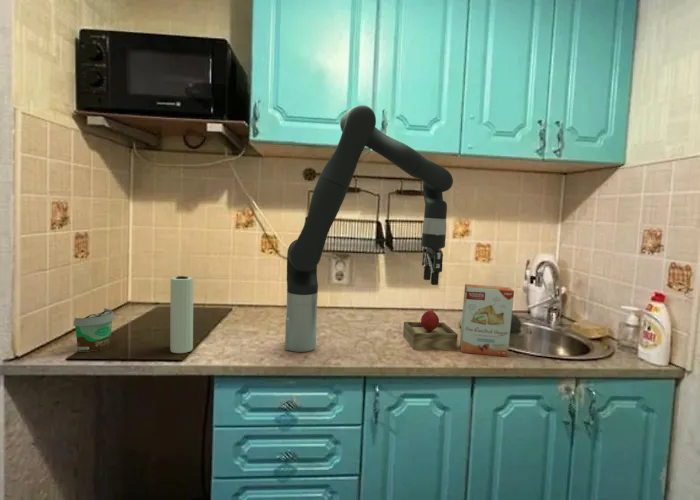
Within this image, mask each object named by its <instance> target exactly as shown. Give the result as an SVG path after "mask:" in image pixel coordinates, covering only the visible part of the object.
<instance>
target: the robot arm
mask: <svg viewBox="0 0 700 500" xmlns="http://www.w3.org/2000/svg"><path fill="white" fill-rule="evenodd" d="M339 122H340V130H341V132H342V133H341V135H340V138H339V141H338V143H337V145H336V148H335V149H334V152H333V153H332V155H331V156H330V158H329V159H328V161H327V162H326V164H325V166H324V167H323V169H322V170H321V172H320V174H319V177H318V179H317V181H316V184H315V186H314V189H313V191H312V195H311V199H310V202H309V208H308V211H307V212H308V213H307V217H306V220H305V223H304V226H303V227H302V229H301V231H300V233H299V236H298V237H297V238H296V239H295V240H294V241H292V242H291V243H290V245H289V246H288V248H287V253H286V254H287V255H286V293H287V294H286V311H285V312H286V313H285V314H286V315H285V332H284V335H285V336H284V337H285V338H284V350H285V351H291V352H298V353H306V352H311V351H314V350H315V349H316V346H317V344H316V343H317V321H318V319H317V317H318V299H319V297H318V296H319V295H318V294H319V292H318V291H319V282H318V273H317V272H318V264H319V263H320V261H321V258H322V255H323V252H324V247H325V244H326V241H327V238H328V235H329V232H330V229H331V228H332V225H333V223H334V221H335V219H336V217H337V215H338V213H339V211H340V209H341V207H342V204H343V203H344V200H345V198H346V195H347V194H348V190H349V187H350V184H351V183H352V180H353V177H354V175H355V172H356V169H357V165H358V162H359V161H360V158H361V155H362V153H363V151H364V149H365V147H367V148H368V149H370V150H372V151H374V152H375V153H377V154H379V155H380V156H382V157H383V158H384V159H386V160H387V161H389V162H391V163H392V164H393V165H395V166H396V167H398V168H399V169H401V170H402V171H403V172H405V173H406V174H408V175H409V176H411V177H413V178H415V179H420V180H421V181H422V182H423V183H422V192H423V200H424V214H423V215H424V216H423V221H422V222H423V223H422V229H421V230H422V232H421V247H423V249H422V251H423V252H422V259H421V261H422V263H421V266H422V267H423V280H425V281H430V285H432V286H438V285H439V280H440V279H439V277H440V273H442V272H443V258H444V253H443V252H440V249H444V248H445V247H446V238H447V237H446V236H447V214H448V204H447V202H446V201H445V200H444V196H443V193H445V192H447V191H449V190H450V189H451V188H452V186H453V185H454V184H453V183H454V178H453V176H452V174H451V173H450V172H449V170H448V169H446V168H445V167H443V166H441V165H440V164H437V163H435V162H434V161H431V160H429V159H428V158H426V157H424V155H422V154H421V153H419V152H418V151H416V150H415V149H414V148H412V147H411V146H409V145H408V144H406V143H403V142H402V141H399V140H396V139H395V138H393V137H391V136H389V135H387V134H386V133H384V132H382V131H381V130H380V129H378V128H377V127H376V124H377V118H376V114H375V112H374V110H373V109H372V108H371V107H370V106H368V105H366V104H359V105H355V106H353V107H351V108H350V109H348V110H347V111H346V112H345V113H344V114H342V116H341V118H340V121H339Z"/></svg>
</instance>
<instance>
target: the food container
mask: <svg viewBox="0 0 700 500" xmlns="http://www.w3.org/2000/svg"><path fill="white" fill-rule="evenodd" d="M115 319H116V318H115V314H114V312H113V310H111V309H109V308H103V311H102V312H99V313H93V314H89V315H87V316H85V317H75V318H74V319H73V323H72V325H73V326H74V327H75V328H74V329H75V336H76V346H77V351H78V350H81V351H83V350H84V351H87V350H88V351H90V350H100V349H104V348H107V347H108V348H110V346H111V338H112V337H111V335H112V327H113V326H112V324H113V321H114V320H115ZM108 348H107V349H108ZM104 350H105V349H104Z"/></svg>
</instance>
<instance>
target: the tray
mask: <svg viewBox="0 0 700 500" xmlns="http://www.w3.org/2000/svg"><path fill="white" fill-rule="evenodd" d="M402 330H403V332H402V336H403V338H404V340H405V341H406V342H407V343H408V344H409V346H410V347H411V349H412V350H417V351H418V350H420V351H421V350H423V351H425V350H426V351H427V350H431V351H432V350H434V351H435V350H436V351H437V350H438V351H439V350H440V351H441V350H442V351H443V350H444V351H447V350H449V351H456V350H457V349H458V348H457V347H458V333H457V332H455V331H454V330H453V329H452V328H451V327H450V326H448V325H447V324H446V323H445V322H442V321H441V322H440V321H439V324H438V326H437V328H435V329H434V330H433V331H432V332H428V331H426V330H425V329H424V328H423V326H422V324H421V321H403V329H402Z"/></svg>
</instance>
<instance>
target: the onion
mask: <svg viewBox="0 0 700 500" xmlns="http://www.w3.org/2000/svg"><path fill="white" fill-rule="evenodd" d="M420 322H421V324H422V326H423V328H424V329H425V330H426V331H428V332H432V331H433V330H434V329H435V328H437V326H438V324H439V322H440V319H439V316H438V314H437V313H436V312H435V311H434V308H433V307H429V309H428V310H427V311H426V312H424V313H423V314H422V315H421V318H420Z"/></svg>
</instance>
